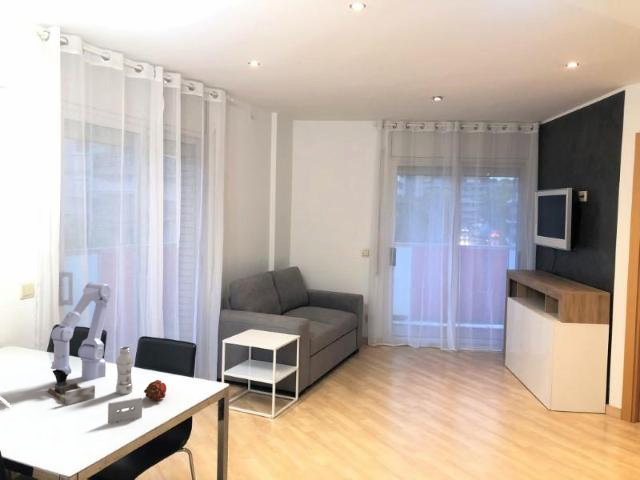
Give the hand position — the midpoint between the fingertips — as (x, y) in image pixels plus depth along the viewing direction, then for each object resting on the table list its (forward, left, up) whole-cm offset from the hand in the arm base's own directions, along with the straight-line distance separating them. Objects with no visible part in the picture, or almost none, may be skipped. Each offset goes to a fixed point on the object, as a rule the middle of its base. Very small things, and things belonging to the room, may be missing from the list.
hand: (61, 386), depth 208 cm
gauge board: (0, +9, -2) cm, 10 cm away
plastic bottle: (-17, +21, -2) cm, 27 cm away
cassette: (-5, +45, -2) cm, 46 cm away
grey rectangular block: (0, +5, -1) cm, 5 cm away
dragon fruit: (-24, +34, -2) cm, 42 cm away
